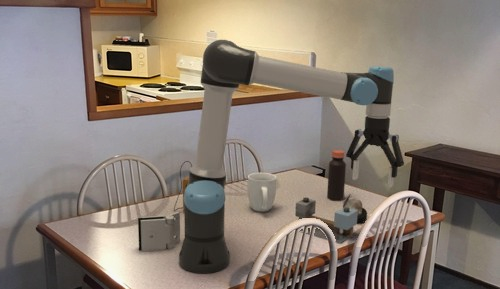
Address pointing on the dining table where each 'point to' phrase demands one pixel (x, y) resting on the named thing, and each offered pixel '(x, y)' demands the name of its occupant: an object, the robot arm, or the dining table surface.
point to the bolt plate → (337, 234)
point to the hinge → (159, 232)
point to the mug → (261, 191)
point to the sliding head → (345, 218)
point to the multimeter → (185, 183)
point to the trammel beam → (307, 210)
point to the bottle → (336, 176)
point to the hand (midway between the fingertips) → (372, 182)
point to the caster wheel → (356, 208)
